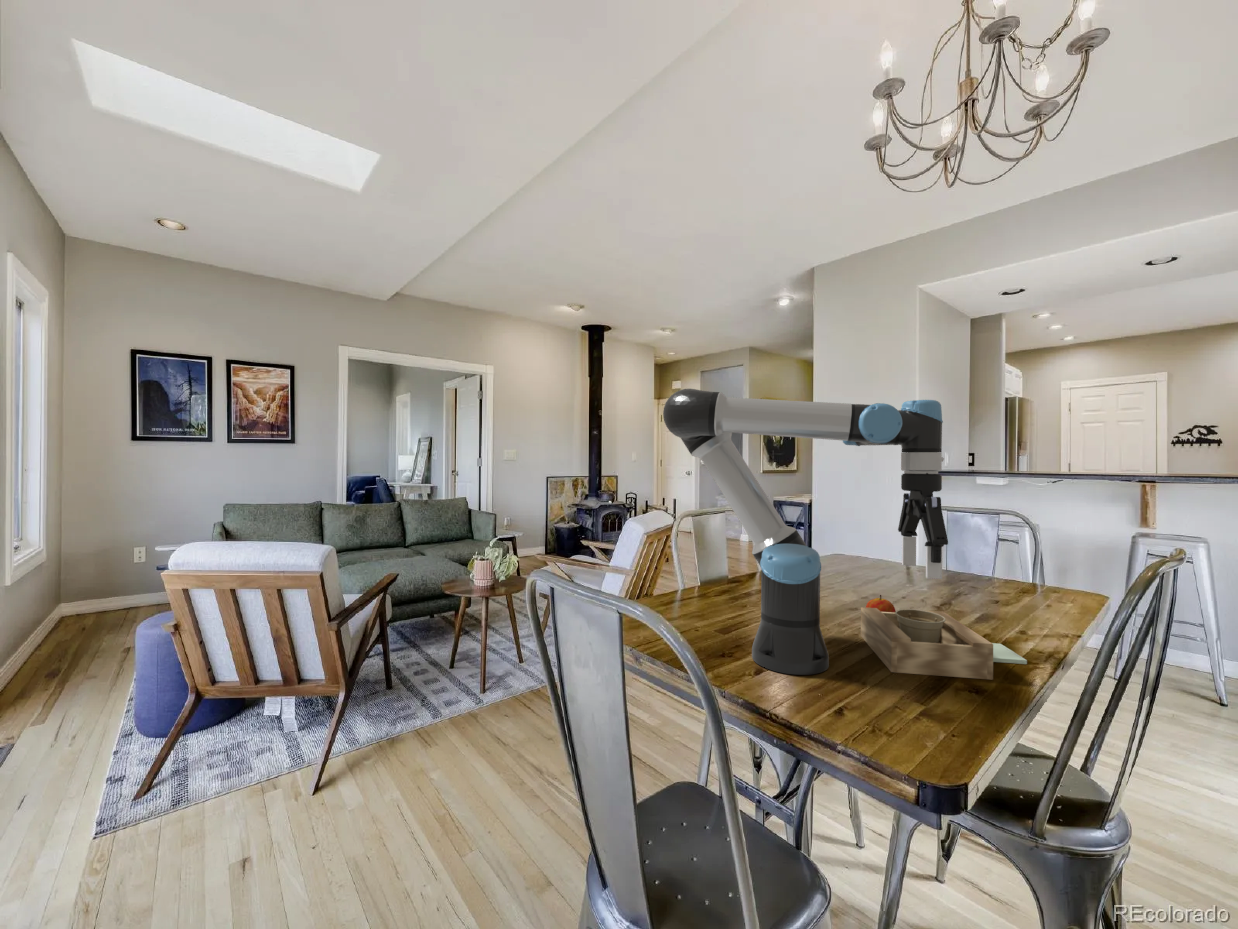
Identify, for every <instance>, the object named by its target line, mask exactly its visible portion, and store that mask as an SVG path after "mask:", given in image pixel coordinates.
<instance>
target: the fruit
mask: <svg viewBox="0 0 1238 929" xmlns="http://www.w3.org/2000/svg"><path fill="white" fill-rule="evenodd" d="M865 608H877V609H878V610H879V611H880V612H895V611H897V609H896V607H895V605H894V604H893V603H892V602H891V601H890V600H888V599H886V598H882V595H881V594H880V595H879V597H876V598H872V599H871V600H869V601H867V603H866V605H865Z"/></svg>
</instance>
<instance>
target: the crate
mask: <svg viewBox="0 0 1238 929" xmlns="http://www.w3.org/2000/svg"><path fill="white" fill-rule="evenodd" d="M927 611H928V612H932V613H936V614H939V615H941V616H943V617H944V618H945V619H946V621H945V622H943V627H942V628H941V632H940V637H939V642H938V643H928V642H913V641H911V639H910V638H909V637H908V636H907V635H906V634H905V633H904V632H903V631H902V630H900V626H899V622H898V620H897V616H896V615H895V612H880V611H879V610H878V609H877V608H866V606H865V607H860V637H861V638H862V639H863V640H864V641H865V643H866V644H867V645H868V646H869V647H870V649H871V650H872V651H873V653H875V655H876V656H877V657H878V658H879V659H880V660H881V662H882V663H883V664H884V665H885V667H887V669H888V671H890V672H891V673H898V674H911V675H913V674H914V675H926V676H937V677H938V676H940V677H941V676H942V677H951V678H952V677H954V678H964V679H965V678H966V679H978V680H979V679H981V680H992V681H993V680H994V662H993V644H992V643H993V642H990V641H989V640H988V639H986V638H984V637H983V636H981V635H980V634H979V633H977V632H975V631H974V630H973V629H971V628H969V627H968V626H967V625H964V624H963V623H962V622H960V621H958V619H955V618H954V617H953V616H951V615H950V614H948V613H946V612H945V611H935V610H927Z"/></svg>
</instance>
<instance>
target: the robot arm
mask: <svg viewBox="0 0 1238 929" xmlns="http://www.w3.org/2000/svg"><path fill="white" fill-rule="evenodd" d="M662 416H663V418H662V419H663V422H664V425H665V427H666V429H667V430H668V431H669V432H670V433H671V434H672V435H674V436H675V437H677V438H680V440H681V441H682V443H683V444H684V445H685V448H686V449H687V451H688V452H689V454H690V455H691V456H692V457H695V458H698V459H701V462H702V463H703V465H704V466H705V467H706V469H707V472H708V473H709V474H710V476H711V477H712V480H713V481H714V482H715V484H716V486H717V487H718V489H719V490H720V492H721V494H722V496H723V497H724V498H725V500H726V502H727V503H728V505H729V507H730V508H731V509H732V512H734V515H735V516H736V517H737V519H738V520H739V522H740V524H741V526H742V527H743V529H744V531H745V532H746V534H747V535H748V537H749V539H750V540H751V541H752V543H753V547H752V550H751V554H752V556H753V557H754V559H755V560H756V562H757V564H758V565H759V567H760V569H761V570H760V571H761V573H760V577H761V579H760V582H761V583H760V584H761V585H760V593H761V594H760V598H761V599H760V622H759V625H758V629H757V631H756V634H755V637H754V640H753V643H752V647H751V659H752V660H753V661H754V663H756V664H757V665H759V667H760V666H761V667H763V668H764V667H765V669H767V670H771V671H772V672H777V673H780V674H782V673H783V674H787V675H796V676H797V675H799V676H809V675H816V674H820V673H823V672H825V671H827V670H828V669H829V667H830V665H829V664H830V661H829V660H830V655H829V651H828V648H827V645H826V643H825V639H824V636H823V632H822V630H821V626H820V622H821V571H822V563H821V556H820V554H819V552H818V551H817V550H816V549H814V548H812V547H809V546H807V544H806V542H805V541H804V539H803V537H802V536H801V534H800V533H799V531H798V530H797V529H796V527H792V526H788V525H786V524H785V522H784V520H783V519H782V517H781V516H780V514H779V512H778V511H777V509H776V508H775V506H774V504H773V503H772V502H771V500H770V499H769V497H768V496H767V494H766V493H765V490H764V489H763V487H762V486H761V484H760V483H759V482H758V479H756V476H755V475H754V473H753V472H752V470H751V469H750V467H749V465H748V464H747V462H746V461H745V458H743V456H742V455H741V453H740V451H739V450H738V448H737V447H736V444H734V442H733V440H732V436H733V433H734V434H746V435H747V434H748V435H757V436H758V435H759V436H772V437H773V436H775V437H776V436H777V437H788V438H802V439H814V440H815V439H816V440H818V439H819V440H829V441H830V440H831V441H841V442H842V443H843V444H844V445H846V446H856V447H860V446H899V445H900V446H901V453H900V456H901V457H900V459H901V460H900V469H901V471H902V472H903V473H902V474H901V478H900V479H901V480H900V481H901V483H900V485H901V486H900V487H901V488H900V489H901V490H902V491H906V493H903V495H902V496H903V501H902V507H901V511H900V512H901V513H900V517H899V523H898V528H897V531H898V532H899V533H900V535H901V565H902V566H908V567H909V566H911V567H916V566H917V537H918V532H917V528H918V526H919V523H920V522H921V524H922V527H923V531H924V534H925V538H926V542H925V543H924V547H925V578H926V579H932V580H933V579H936V580H943V548H944V546H945V545H946V546H947V545H949V540H948V534H947V529H946V525H945V519H944V515H943V510H942V498H941V496H934V493H935V492H936V493H937V492H941V491H942V489H943V488H942V487H943V485H942V484H943V483H942V482H943V481H942V479H943V478H942V477H943V476H942V474H941V473H939V472H941V471H942V468H943V467H942V464H943V463H942V462H944V460H945V458H944V457H943V454H942V449H943V448H942V446H943V441H942V440H943V438H942V437H943V423H944V421H943V411H942V404H941V403H940V402H939V401H938V400H936V399H917V400H915V399H913V400H907V401H903V402H902V404H901V408H900V409H897V408H896V407H895V406H894V405H892V404H889V403H884V402H883V403H879V402H877V403H874V404H872V403H871V404H861V403H860V404H859V403H858V404H857V403H845V402H843V403H841V402H824V401H823V402H822V401H805V400H787V399H785V400H784V399H767V398H765V399H764V398H750V397H749V398H747V397H745V398H744V397H729V396H726V395H725V394H724V393H723V392H722V391H709V390H708V391H707V390H700V389H695V388H683V389H680V390H677V391H676V392H674V393H673V394H671V395H669V397H668V398H667V400H666V402H665V404H664V407H663V411H662ZM908 492H909V493H908Z"/></svg>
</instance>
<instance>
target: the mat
mask: <svg viewBox="0 0 1238 929" xmlns="http://www.w3.org/2000/svg"><path fill="white" fill-rule="evenodd" d="M991 643H992V644H993V663H1005V664H1018V665H1019V664H1020V665H1027V664H1028V660H1027V659H1025V657H1022V656H1021V655H1019V654H1018V653H1016V652H1015V651H1013V650H1012V649H1010V648H1008V647H1007V646H1005V645H1003V644H1002V643H995V642H991Z"/></svg>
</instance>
